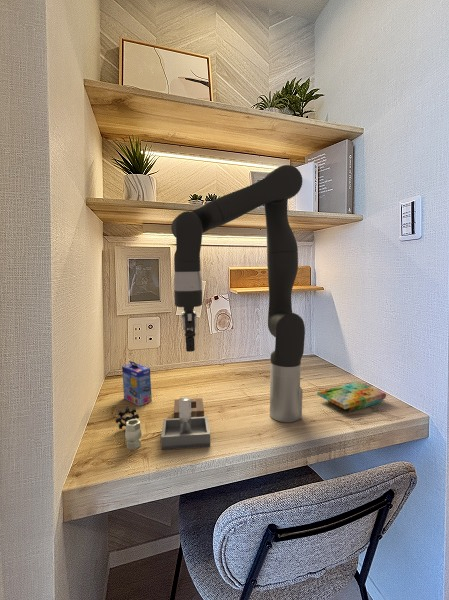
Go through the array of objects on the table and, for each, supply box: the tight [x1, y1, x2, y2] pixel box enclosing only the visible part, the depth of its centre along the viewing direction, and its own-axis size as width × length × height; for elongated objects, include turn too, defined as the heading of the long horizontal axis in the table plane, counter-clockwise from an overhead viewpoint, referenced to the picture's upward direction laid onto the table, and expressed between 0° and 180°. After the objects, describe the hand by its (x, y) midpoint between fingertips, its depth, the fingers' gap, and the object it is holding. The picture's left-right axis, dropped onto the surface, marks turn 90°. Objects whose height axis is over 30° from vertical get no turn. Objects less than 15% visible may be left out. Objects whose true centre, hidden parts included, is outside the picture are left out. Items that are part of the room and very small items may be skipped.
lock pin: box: [179, 396, 192, 434], centre depth 84 cm, size 3×3×10 cm
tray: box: [160, 415, 211, 451], centre depth 84 cm, size 13×10×4 cm
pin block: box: [173, 397, 205, 419], centre depth 96 cm, size 9×9×4 cm
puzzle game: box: [316, 382, 387, 413], centre depth 106 cm, size 12×5×20 cm
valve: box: [114, 406, 142, 450], centre depth 84 cm, size 7×7×12 cm
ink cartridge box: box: [121, 360, 153, 407], centre depth 108 cm, size 10×6×14 cm, turn 51°
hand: (189, 347), depth 85 cm, fingers open, 8 cm apart
